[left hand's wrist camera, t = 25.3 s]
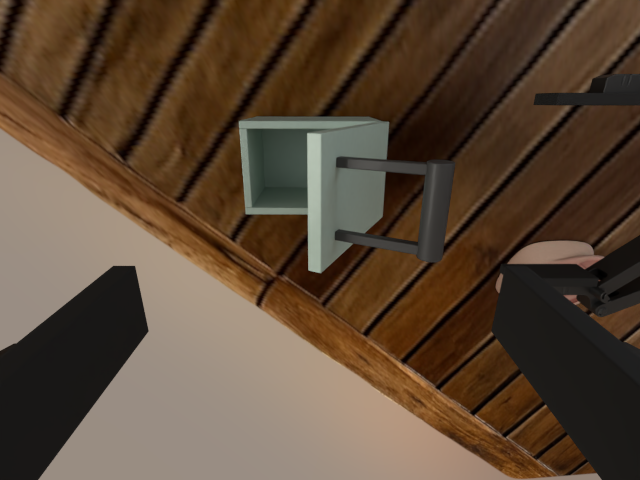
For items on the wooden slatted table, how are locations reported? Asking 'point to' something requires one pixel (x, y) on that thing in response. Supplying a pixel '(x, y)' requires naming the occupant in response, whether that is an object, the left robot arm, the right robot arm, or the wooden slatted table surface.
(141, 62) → the wooden slatted table surface
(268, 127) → the chest
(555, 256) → the anatomical model
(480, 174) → the wooden slatted table surface
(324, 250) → the lid
